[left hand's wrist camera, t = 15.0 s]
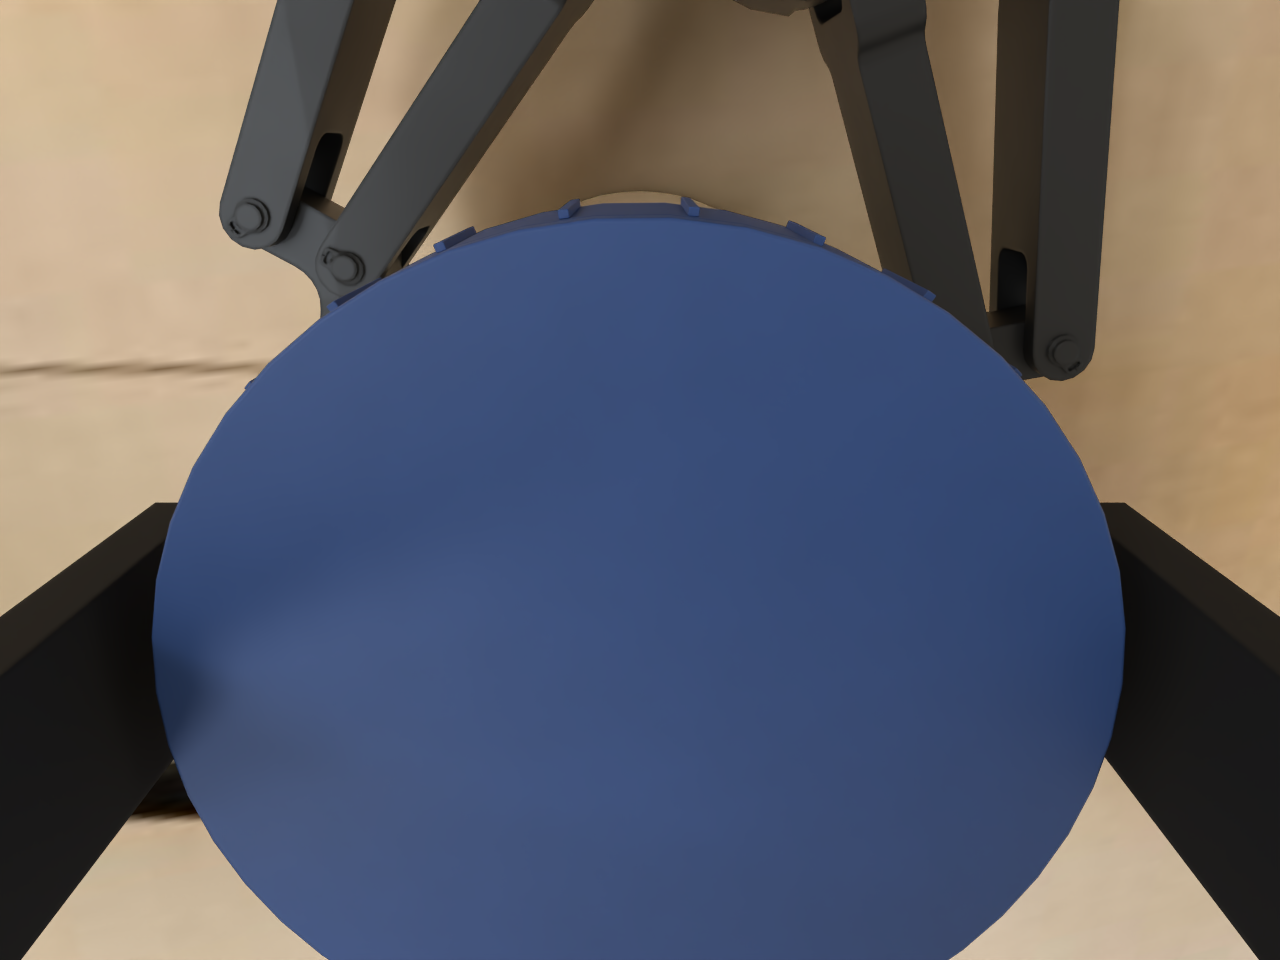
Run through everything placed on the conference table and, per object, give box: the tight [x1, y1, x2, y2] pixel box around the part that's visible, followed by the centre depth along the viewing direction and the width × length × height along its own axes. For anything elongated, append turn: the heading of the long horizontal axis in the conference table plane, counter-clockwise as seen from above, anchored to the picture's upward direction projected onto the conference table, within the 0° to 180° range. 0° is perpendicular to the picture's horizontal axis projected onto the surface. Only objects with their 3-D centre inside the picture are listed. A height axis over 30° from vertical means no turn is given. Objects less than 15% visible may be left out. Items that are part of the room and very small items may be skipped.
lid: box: [152, 197, 1126, 960], centre depth 11 cm, size 11×11×2 cm
